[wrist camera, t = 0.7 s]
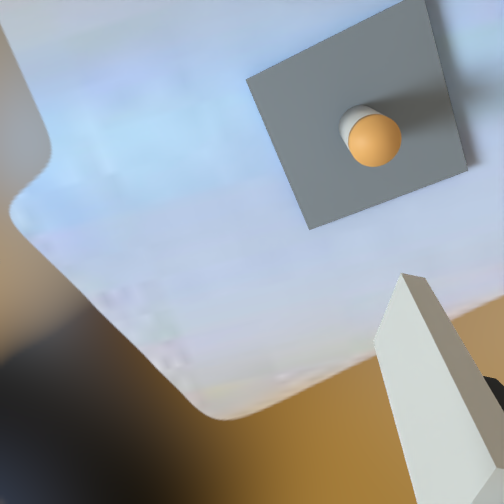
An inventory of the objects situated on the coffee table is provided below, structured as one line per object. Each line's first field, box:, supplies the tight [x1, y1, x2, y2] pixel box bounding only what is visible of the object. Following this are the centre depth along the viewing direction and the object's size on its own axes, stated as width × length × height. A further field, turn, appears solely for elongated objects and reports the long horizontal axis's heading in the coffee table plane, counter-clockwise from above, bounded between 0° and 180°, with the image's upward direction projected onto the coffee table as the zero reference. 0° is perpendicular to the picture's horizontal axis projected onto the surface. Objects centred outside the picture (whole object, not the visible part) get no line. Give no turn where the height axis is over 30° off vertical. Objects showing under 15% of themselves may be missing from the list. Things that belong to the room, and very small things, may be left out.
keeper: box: [246, 0, 468, 230], centre depth 30 cm, size 14×14×9 cm
